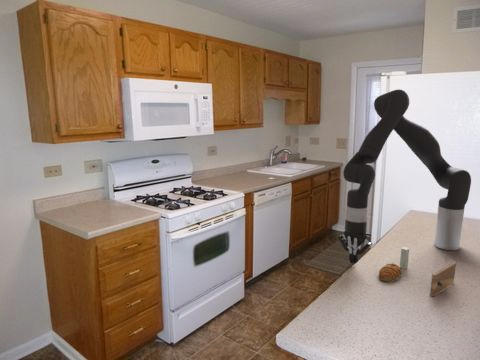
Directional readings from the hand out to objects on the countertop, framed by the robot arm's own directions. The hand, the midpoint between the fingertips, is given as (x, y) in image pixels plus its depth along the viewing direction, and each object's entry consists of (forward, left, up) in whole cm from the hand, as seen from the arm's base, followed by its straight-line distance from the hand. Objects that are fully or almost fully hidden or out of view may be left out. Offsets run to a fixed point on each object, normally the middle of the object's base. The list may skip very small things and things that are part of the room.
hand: (353, 262), depth 131 cm
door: (-3, +29, -1) cm, 30 cm away
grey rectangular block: (-11, +22, -1) cm, 24 cm away
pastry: (-1, +13, -1) cm, 13 cm away
